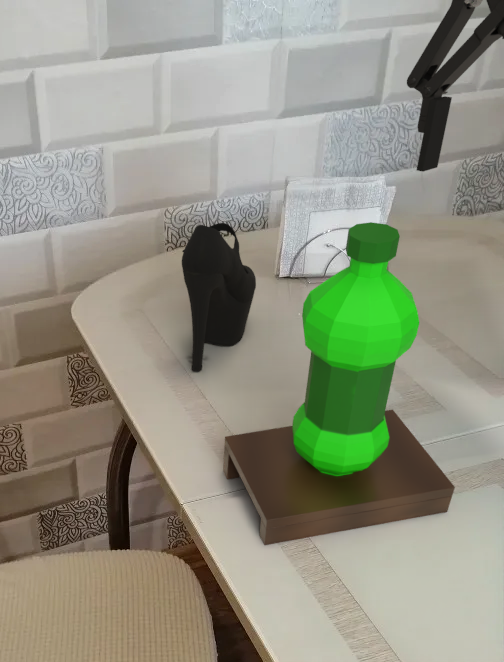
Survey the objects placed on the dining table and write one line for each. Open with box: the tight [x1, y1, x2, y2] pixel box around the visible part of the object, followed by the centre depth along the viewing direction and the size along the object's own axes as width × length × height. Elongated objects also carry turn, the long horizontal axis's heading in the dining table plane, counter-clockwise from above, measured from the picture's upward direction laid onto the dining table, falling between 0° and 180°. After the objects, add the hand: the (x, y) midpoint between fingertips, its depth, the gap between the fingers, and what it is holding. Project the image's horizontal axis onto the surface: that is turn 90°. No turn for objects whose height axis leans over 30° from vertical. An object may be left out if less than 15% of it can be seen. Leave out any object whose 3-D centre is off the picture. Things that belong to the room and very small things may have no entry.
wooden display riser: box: [222, 409, 456, 546], centre depth 86 cm, size 20×14×5 cm
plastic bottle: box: [291, 221, 420, 476], centre depth 76 cm, size 10×10×25 cm
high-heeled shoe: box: [181, 222, 257, 373], centre depth 106 cm, size 8×19×20 cm, turn 155°
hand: (489, 181), depth 77 cm, fingers open, 13 cm apart
